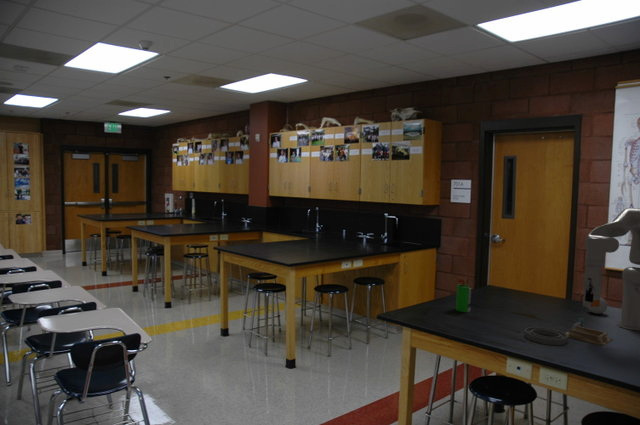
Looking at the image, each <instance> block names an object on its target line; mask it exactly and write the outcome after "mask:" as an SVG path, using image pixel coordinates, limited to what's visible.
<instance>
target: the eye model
mask: <svg viewBox="0 0 640 425" xmlns="http://www.w3.org/2000/svg"><path fill="white" fill-rule="evenodd" d="M587 309H588V310H589V311H590V312H591V313H593V314H596V315H599V314H600V315H601V314H603V313H605V312H606V311H607V309H608V302H607V301H606V300H605V299H604V298H603V297H602V296H601V297H600V308H588V307H587Z"/></svg>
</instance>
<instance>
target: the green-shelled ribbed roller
mask: <svg viewBox="0 0 640 425" xmlns="http://www.w3.org/2000/svg"><path fill="white" fill-rule="evenodd" d="M459 283H460V284H459ZM456 288H457V289H456V300H455V310H456V311H457V312H461V313H469V312H471V306H469V304H471V297H472V296H471V295H472V291H471V290H472V288H471V287H469V284H466V283H465V280H464V279H463V278H459V279H458V284H457V286H456Z"/></svg>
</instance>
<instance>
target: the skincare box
mask: <svg viewBox="0 0 640 425" xmlns="http://www.w3.org/2000/svg"><path fill="white" fill-rule="evenodd" d="M590 287H592V284H591V285H590ZM583 288H584V289H583V298H582V299H583V300H582V306H583V307H584V308H585V307H586V308H587V309H588V308H600V297H601V298H602V296H601V293H602V282H601V283H598V286H597V287H596V288H594V289H593V293H592V294H593V302H588V301H585V294H586V292H585V291H586V287H584V286H583ZM590 289H591V288H590Z"/></svg>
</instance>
